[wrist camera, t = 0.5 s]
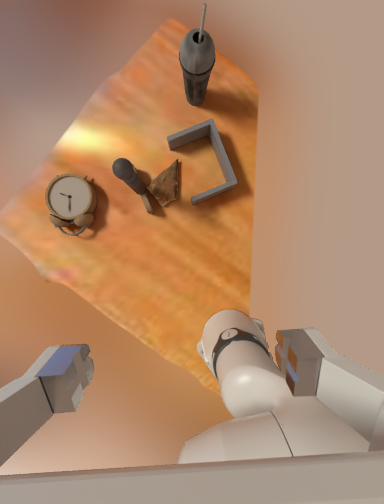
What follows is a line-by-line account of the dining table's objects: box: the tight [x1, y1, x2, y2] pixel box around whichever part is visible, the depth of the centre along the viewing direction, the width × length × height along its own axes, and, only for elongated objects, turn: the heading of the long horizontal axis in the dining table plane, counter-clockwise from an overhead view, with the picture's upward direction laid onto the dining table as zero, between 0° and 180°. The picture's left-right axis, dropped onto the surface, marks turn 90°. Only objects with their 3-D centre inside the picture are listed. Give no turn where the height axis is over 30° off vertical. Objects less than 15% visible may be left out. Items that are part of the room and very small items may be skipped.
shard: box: [147, 159, 178, 207], centre depth 54 cm, size 11×8×2 cm
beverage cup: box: [179, 3, 215, 106], centre depth 43 cm, size 7×7×20 cm
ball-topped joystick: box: [112, 158, 154, 214], centre depth 45 cm, size 12×4×18 cm, turn 22°
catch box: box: [167, 118, 238, 205], centre depth 52 cm, size 16×12×5 cm
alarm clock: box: [45, 174, 97, 235], centre depth 52 cm, size 11×5×15 cm
